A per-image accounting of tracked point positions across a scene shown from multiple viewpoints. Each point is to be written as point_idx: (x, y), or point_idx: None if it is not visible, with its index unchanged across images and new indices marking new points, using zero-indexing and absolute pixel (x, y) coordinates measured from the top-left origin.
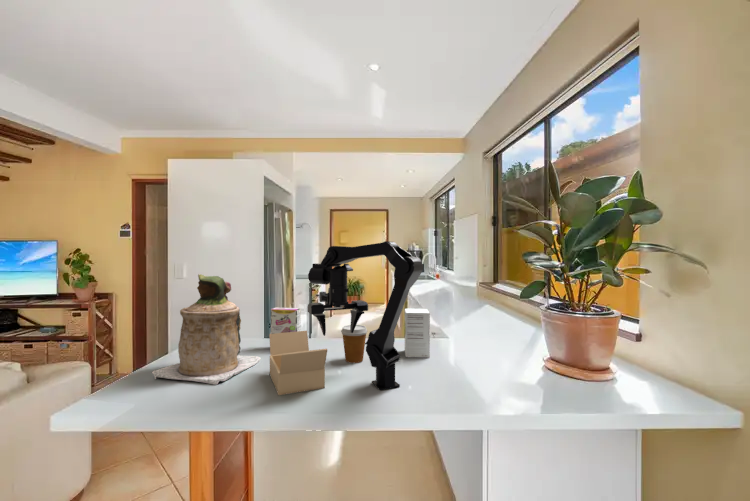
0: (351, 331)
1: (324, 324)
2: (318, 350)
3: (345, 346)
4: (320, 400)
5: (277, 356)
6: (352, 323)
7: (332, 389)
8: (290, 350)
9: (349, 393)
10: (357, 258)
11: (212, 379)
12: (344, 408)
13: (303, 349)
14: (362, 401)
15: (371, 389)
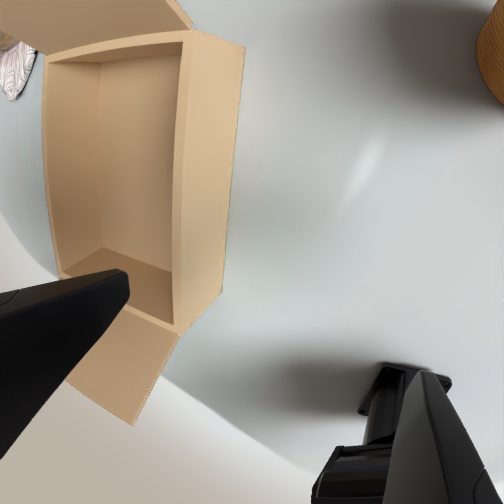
0: (407, 400)
1: (48, 386)
2: (103, 406)
3: (496, 37)
4: (186, 344)
5: (65, 59)
6: (399, 493)
7: (240, 315)
8: (93, 34)
9: (271, 368)
10: None
11: (6, 90)
12: (222, 403)
13: (152, 23)
14: (274, 412)
15: (345, 390)
